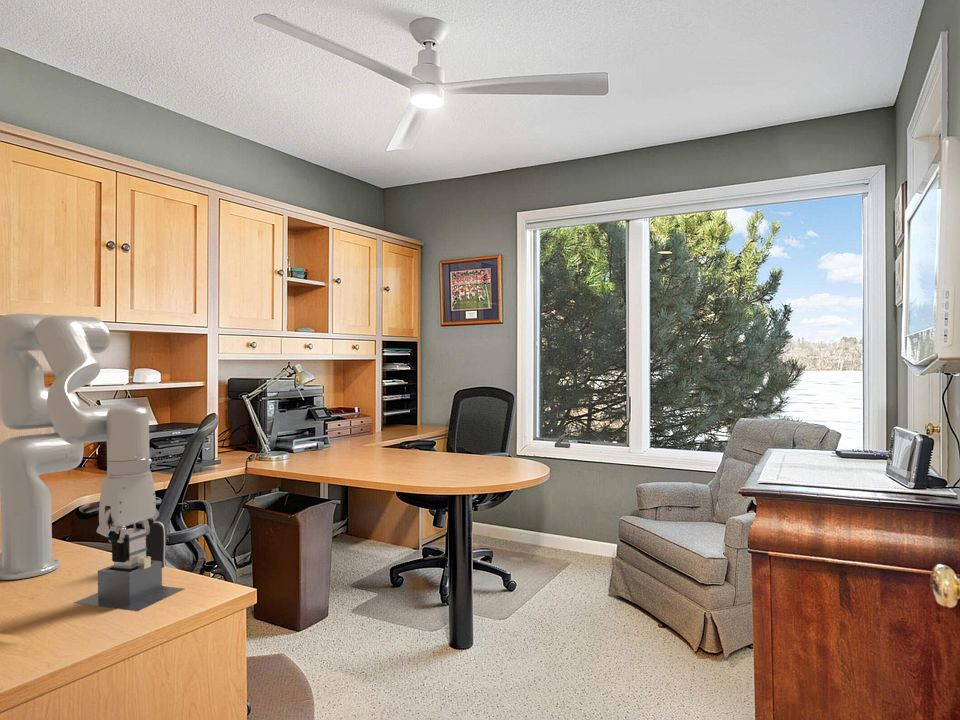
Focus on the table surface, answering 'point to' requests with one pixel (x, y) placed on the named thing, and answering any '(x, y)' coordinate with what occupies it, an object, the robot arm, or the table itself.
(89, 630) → the table surface
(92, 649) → the table surface
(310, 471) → the table surface
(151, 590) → the stand
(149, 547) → the battery charger
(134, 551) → the column
